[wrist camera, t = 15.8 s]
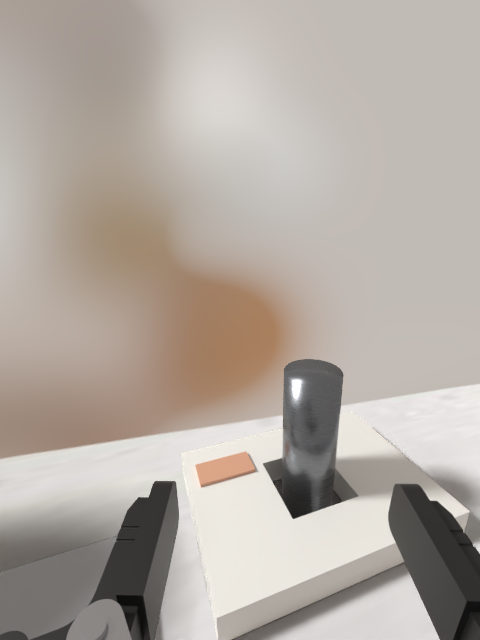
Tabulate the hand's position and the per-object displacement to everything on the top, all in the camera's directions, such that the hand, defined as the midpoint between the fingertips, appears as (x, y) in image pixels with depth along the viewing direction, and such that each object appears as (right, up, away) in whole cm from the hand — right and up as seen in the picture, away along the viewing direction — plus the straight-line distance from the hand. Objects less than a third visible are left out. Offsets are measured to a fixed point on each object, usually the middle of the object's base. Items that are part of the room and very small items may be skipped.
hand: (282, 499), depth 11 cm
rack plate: (+4, -10, +16) cm, 20 cm away
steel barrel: (+4, -10, +16) cm, 19 cm away
